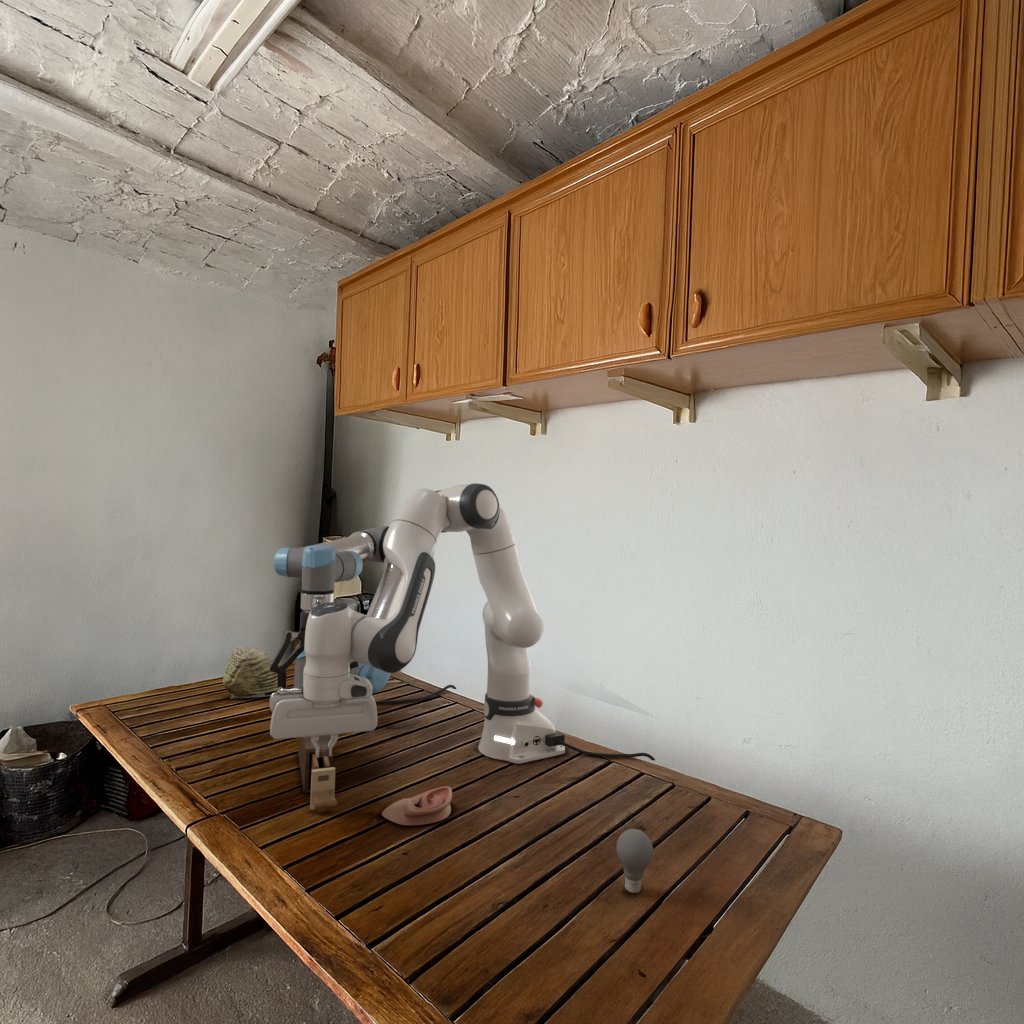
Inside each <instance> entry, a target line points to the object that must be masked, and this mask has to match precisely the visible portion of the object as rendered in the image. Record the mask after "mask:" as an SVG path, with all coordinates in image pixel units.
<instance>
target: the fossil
mask: <svg viewBox="0 0 1024 1024" xmlns="http://www.w3.org/2000/svg"><path fill="white" fill-rule="evenodd" d="M273 660H274V659H272V658H271V657H270V656H269V655H268V654H267V653H266V652H265V650H264V649H263V648H260V647H258V648H251V647H247V646H246V647H245V646H238V647H237V648H236V649H235V650H233V651H232V653H231V656H230V657H229V659H228V660H227V663H226V666H225V668H224V671H223V675H222V676H223V677H222V685H223V687H224V688H225V690H226V691H228V693H229V698H230V699H250V698H264V697H271V695H272V694H273V693H274V692H277V691H278V690H279V689H282V687H278V686H277V679H278V674H277V673H275V672H271V671H270V665H271V663H272V662H273ZM287 687H288V686H287V684H286V688H287ZM275 695H278V693H277V694H275Z"/></svg>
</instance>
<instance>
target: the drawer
mask: <svg viewBox="0 0 1024 1024" xmlns="http://www.w3.org/2000/svg"><path fill="white" fill-rule="evenodd" d="M309 778H310V784H311V793H310V801H309V802H310V803H309V809H310V810H311V811H312V810H315V811H316V810H322V809H323V810H324V809H330V808H331V809H332V808H337V807H338V799H337V798H335V795H336V794H335V792H336V791H335V789H336V767H335V766H333V767H330V763H329V759H328V757H318V758H316V752H312V753H310V761H309Z"/></svg>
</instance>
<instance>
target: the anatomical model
mask: <svg viewBox="0 0 1024 1024" xmlns="http://www.w3.org/2000/svg"><path fill="white" fill-rule="evenodd" d="M452 799H453V789H452V787H450V786H448V785H445V786H440V787H436V788H432V789H430V790H426V791H424V792H422V793H419V794H416V795H415V796H412V797H408V798H402V799H399V800H396V801H395V802H393V803H391V804H390V805H388V806H387V807H386V808H384V809H383V810H382V812H381V816H382V817H383V818H384V819H386V820H388V821H390V822H392V823H395V824H397V825H400V826H406V827H407V826H408V827H409V826H421V825H428V824H434V823H438V822H440V821H443V820H445V819H446V818H448V817H449V816H450V815H451V812H452V807H451V802H452Z"/></svg>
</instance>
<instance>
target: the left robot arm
mask: <svg viewBox="0 0 1024 1024" xmlns="http://www.w3.org/2000/svg"><path fill="white" fill-rule="evenodd" d="M389 527H390V526H387V525H385V526H377V527H371V528H367V529H362V530H358V531H355V532H353V533H351V534H350V535H348V536H347V537H342V538H337V539H334V540H330V541H329V540H328V541H324V542H321V543H317V544H312V545H307V546H302V547H292V546H289V547H280V548H279V549H278V550H277V551H276V552H275V554H274V556H273V566H272V567H273V569H274V571H275V573H276V574H277V575H279V576H281V577H287V578H300V579H301V592H300V609H301V612H300V613H299V614H300V615H299V616H300V618H299V630H298V631H292V630H290V629H288V630H286V631H285V637H284V640H283V642H282V644H281V645H280V647H279V648H278V651H277V652H276V655H275V656H274V658H273V659H272V660H273V662H272V663H271V665H270V671H271V672H275V673H277V674H278V679H277V686H278V687H282V689H287V687H286V685H287V671H286V670H287V669H289V667H290V666H291V665H292V664H293V663H294V672H293V688H302V687H303V671H304V667H305V664H306V655H305V651H304V645H305V631H306V624H307V619H308V616H309V614H310V611H311V610H312V609H313V608H314V607H316V606H318V605H320V604H323V603H330V602H335V601H334V600H335V598H334V597H335V584H336V583H340V582H348V581H351V580H353V579H356V578H357V577H359V575H360V574H361V573H362V572H363V566H364V564H363V563H367V562H372V563H373V562H374V563H381V564H384V565H385V570H384V572H383V574H382V577H381V579H380V581H379V584H378V587H377V589H376V590H375V593H374V596H373V598H372V601H371V603H370V606H369V607H368V611H367V613H366V615H368V616H373V617H375V618H380V619H386V620H387V619H389V618H391V617H392V616H393V615H394V614H395V611H396V608H397V605H398V602H399V599H400V596H401V593H402V590H403V587H404V583H405V577H404V574H403V573H402V572H400V571H399V570H398V569H397V568H395V567H394V566H393V565H392V564H391V563H390V562H389V561H388V559H387V558H386V556H385V553H384V549H383V542H384V538H385V535H386V533H387V531H388V529H389ZM434 555H435V549H434V550H433V554H432V558H433V559H434ZM296 638H297V639H298V640H299V643H298V644H297V645H296V647H295V649H294V650H293V651H292V652H291V653H290V654H289V655H288V656H287V658H286V659H285V660H284V661H283V662H282V663H281V664H280V662H281V661H282V660H283V657H284V655H285V654H286V652H287V650H288V648H289V647H290V645H291V642H293V641H295V639H296ZM279 665H280V666H279ZM349 666H350V674H352V675H356V676H360V677H364V678H367V679H368V680H369V681H370V683H371V685H372V695H373V694H376V693H378V692H380V691H382V690H383V689H384V688H385V686H386V685H387V684H388V682H389V681H390V678H391V677H392V676H391V675H392V673H387V672H385V671H382V670H380V669H377V668H375V667H373V666H370V665H366V664H362V663H358V662H356V661H354V662H351V663H350V665H349ZM450 688H452V689H453V690H457V689H458V688H457V687H456V686H455V685H453V684H448V685H446V686H444V687H443V688H441V689H439V690H437V691H434V692H432V693H430V694H428V695H426V696H425V695H424V696H421V697H415V698H414V697H413V698H404V699H389V700H387V699H385V700H384V699H383V700H375V703H376V705H380V704H381V705H382V704H400V703H401V704H402V703H403V704H404V703H412V702H420V701H425V700H428V699H431V698H432V697H433V698H434V696H437V695H439V694H441V693H443V692H444V691H446V690H447V689H450ZM302 694H303V693H302Z"/></svg>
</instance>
